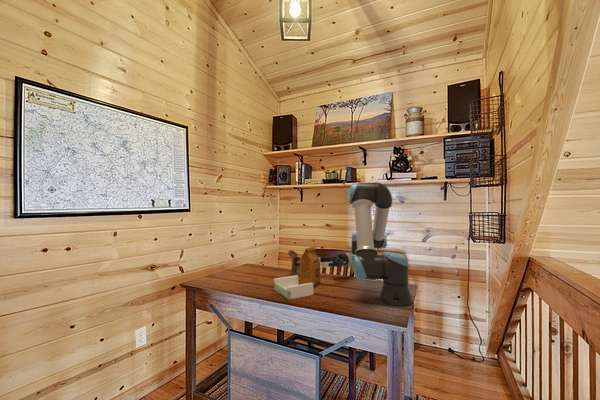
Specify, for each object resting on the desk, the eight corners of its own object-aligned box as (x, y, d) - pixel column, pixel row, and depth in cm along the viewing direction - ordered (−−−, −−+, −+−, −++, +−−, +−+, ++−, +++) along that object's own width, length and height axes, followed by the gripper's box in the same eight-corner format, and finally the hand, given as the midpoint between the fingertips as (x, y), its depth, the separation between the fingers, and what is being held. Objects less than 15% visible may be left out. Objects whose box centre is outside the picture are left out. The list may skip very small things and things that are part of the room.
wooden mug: (284, 277, 179) (284, 249, 179) (293, 272, 192) (293, 246, 192) (297, 279, 176) (297, 250, 176) (305, 273, 188) (305, 247, 188)
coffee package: (323, 283, 167) (323, 246, 167) (312, 288, 157) (312, 249, 157) (309, 280, 173) (309, 244, 173) (297, 285, 163) (297, 247, 163)
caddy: (313, 294, 147) (313, 283, 147) (288, 299, 140) (288, 287, 140) (297, 285, 163) (297, 275, 163) (273, 289, 156) (273, 278, 156)
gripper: (358, 269, 167) (328, 273, 157) (334, 261, 189) (306, 264, 179) (358, 256, 167) (328, 260, 157) (334, 250, 189) (306, 253, 179)
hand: (317, 262), depth 168 cm, fingers open, 13 cm apart
